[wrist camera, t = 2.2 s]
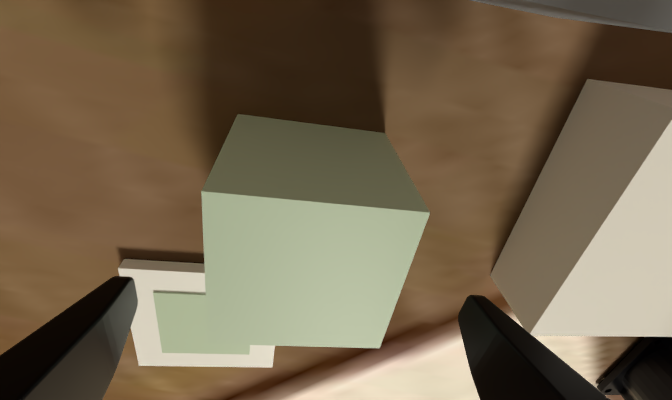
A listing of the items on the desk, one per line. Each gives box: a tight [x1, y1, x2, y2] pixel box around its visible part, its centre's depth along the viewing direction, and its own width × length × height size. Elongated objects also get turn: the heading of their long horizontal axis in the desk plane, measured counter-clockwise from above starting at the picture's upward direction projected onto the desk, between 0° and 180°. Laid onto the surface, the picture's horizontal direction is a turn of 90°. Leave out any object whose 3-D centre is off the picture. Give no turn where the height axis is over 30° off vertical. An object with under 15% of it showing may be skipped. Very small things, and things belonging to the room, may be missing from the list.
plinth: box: [490, 79, 672, 337], centre depth 15 cm, size 10×10×4 cm
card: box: [118, 259, 275, 367], centre depth 17 cm, size 7×7×1 cm
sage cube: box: [201, 114, 430, 348], centre depth 12 cm, size 6×6×6 cm
